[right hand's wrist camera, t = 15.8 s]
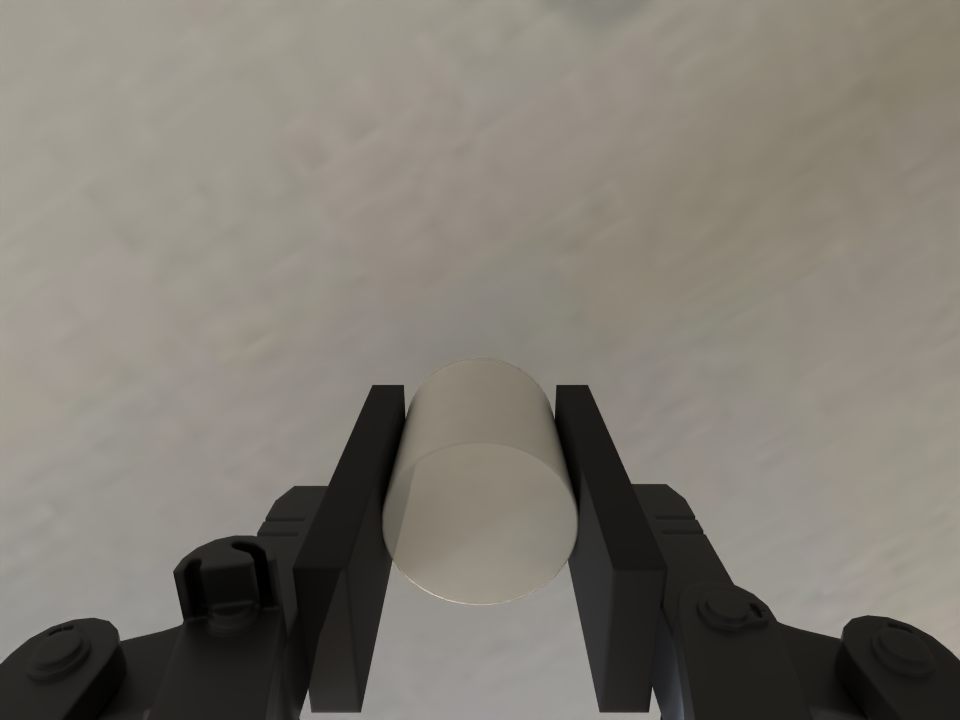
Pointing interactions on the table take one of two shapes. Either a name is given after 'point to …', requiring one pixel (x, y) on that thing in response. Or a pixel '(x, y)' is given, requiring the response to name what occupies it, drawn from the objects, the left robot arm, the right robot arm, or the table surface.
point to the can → (480, 487)
